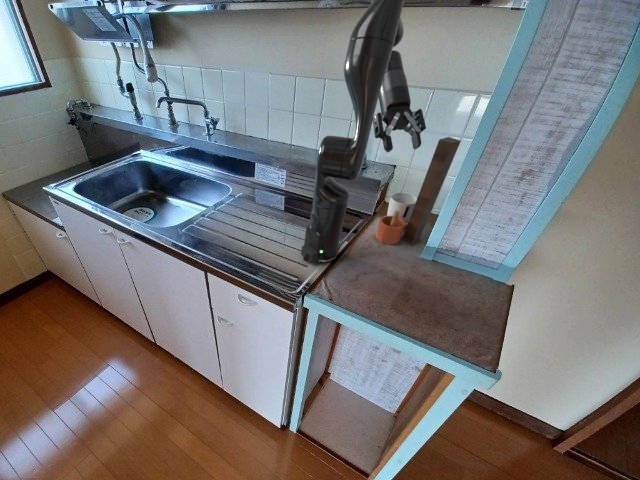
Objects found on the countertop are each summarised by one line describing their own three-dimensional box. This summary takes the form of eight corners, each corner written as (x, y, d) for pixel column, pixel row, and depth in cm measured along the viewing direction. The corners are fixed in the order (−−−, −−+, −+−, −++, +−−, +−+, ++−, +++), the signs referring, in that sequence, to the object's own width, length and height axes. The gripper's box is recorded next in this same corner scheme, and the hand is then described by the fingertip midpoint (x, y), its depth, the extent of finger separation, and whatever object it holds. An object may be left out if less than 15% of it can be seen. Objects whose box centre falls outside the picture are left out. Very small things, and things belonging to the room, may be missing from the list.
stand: (411, 244, 102) (451, 143, 81) (402, 238, 104) (439, 139, 83) (419, 240, 103) (461, 140, 82) (409, 235, 105) (448, 136, 85)
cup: (397, 234, 106) (407, 206, 99) (377, 224, 111) (385, 196, 104) (412, 227, 109) (423, 199, 102) (392, 217, 114) (401, 190, 107)
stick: (388, 240, 102) (397, 215, 96) (381, 236, 104) (389, 211, 98) (395, 238, 103) (404, 212, 97) (388, 234, 105) (396, 208, 99)
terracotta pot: (387, 247, 101) (393, 230, 97) (370, 236, 106) (375, 219, 101) (404, 240, 103) (410, 223, 99) (386, 229, 108) (391, 213, 104)
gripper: (377, 85, 86) (388, 145, 86) (425, 81, 88) (436, 139, 88) (362, 103, 93) (373, 158, 93) (407, 100, 95) (417, 153, 95)
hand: (403, 149), depth 90 cm, fingers open, 8 cm apart
